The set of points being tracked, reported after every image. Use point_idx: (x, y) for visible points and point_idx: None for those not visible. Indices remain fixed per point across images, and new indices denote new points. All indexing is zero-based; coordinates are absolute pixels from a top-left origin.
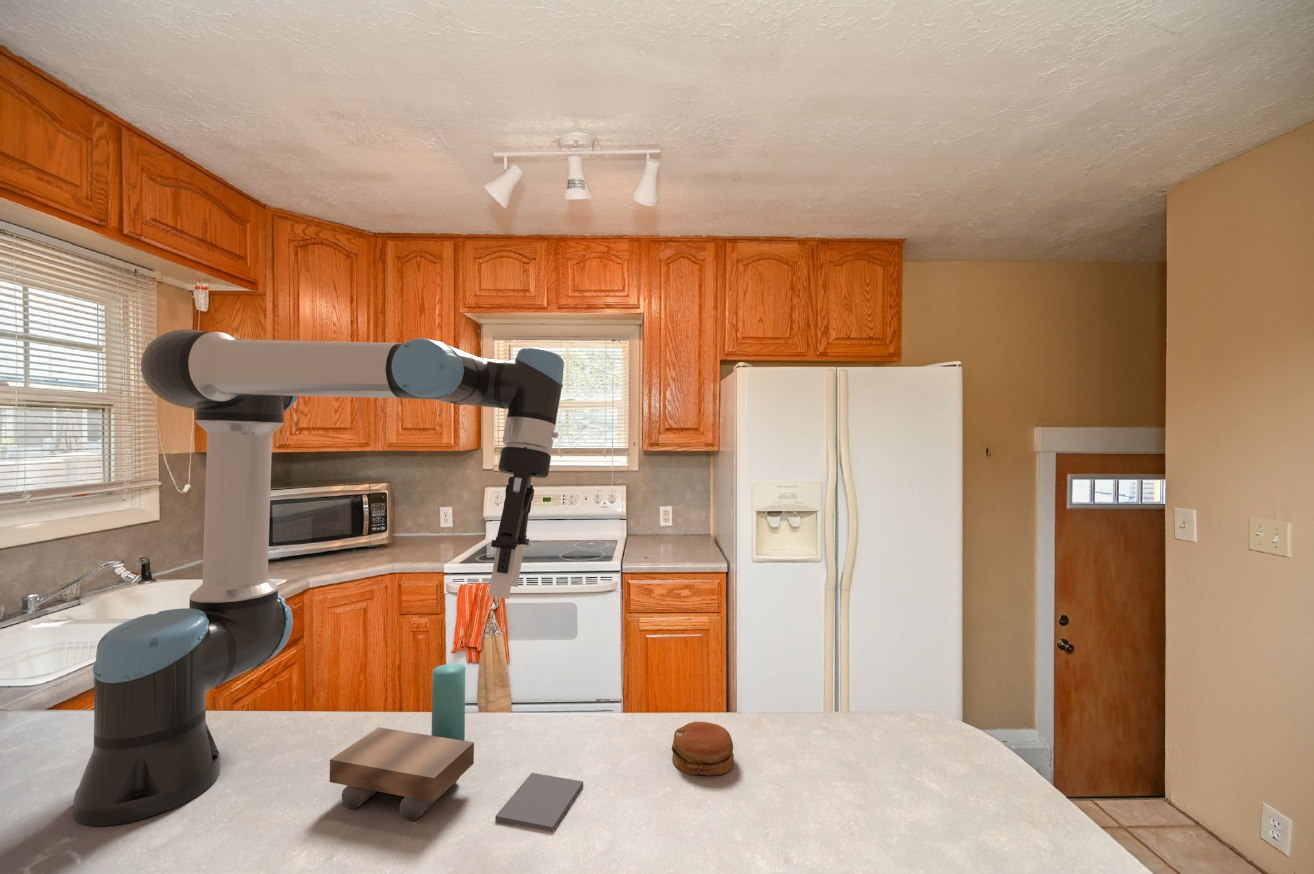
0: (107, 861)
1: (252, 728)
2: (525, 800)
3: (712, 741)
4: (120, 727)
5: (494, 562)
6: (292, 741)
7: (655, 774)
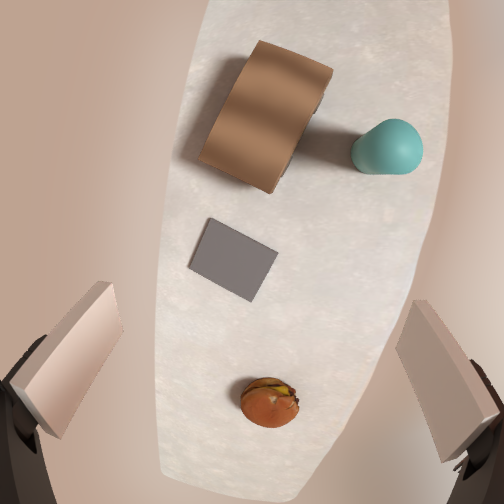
0: None
1: None
2: (229, 246)
3: (250, 414)
4: None
5: (40, 346)
6: (392, 4)
7: (257, 361)
